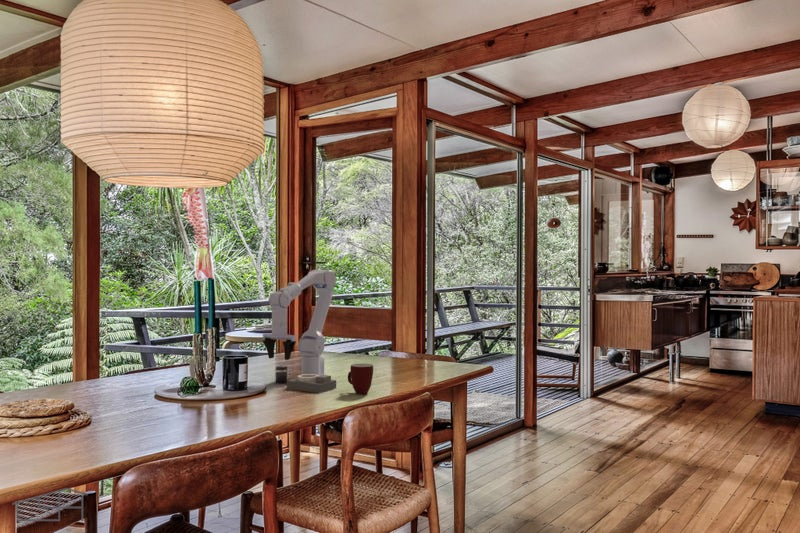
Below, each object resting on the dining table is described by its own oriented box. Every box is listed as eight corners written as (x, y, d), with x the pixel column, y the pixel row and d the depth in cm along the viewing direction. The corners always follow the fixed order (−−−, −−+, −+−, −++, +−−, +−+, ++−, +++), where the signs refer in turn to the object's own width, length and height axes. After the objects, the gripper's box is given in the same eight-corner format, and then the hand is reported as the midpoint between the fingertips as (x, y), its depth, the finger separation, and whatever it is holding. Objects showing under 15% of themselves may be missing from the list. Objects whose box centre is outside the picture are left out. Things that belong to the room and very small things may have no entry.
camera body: (303, 384, 238) (303, 371, 238) (336, 388, 232) (336, 374, 232) (286, 388, 230) (286, 375, 230) (320, 393, 223) (320, 378, 223)
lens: (280, 380, 245) (280, 365, 245) (289, 382, 243) (290, 366, 243) (272, 382, 241) (272, 366, 241) (282, 383, 239) (282, 367, 239)
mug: (340, 393, 223) (340, 364, 223) (353, 389, 230) (353, 362, 230) (364, 396, 217) (364, 367, 217) (377, 392, 224) (377, 364, 224)
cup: (197, 388, 227) (197, 361, 227) (184, 386, 232) (184, 359, 232) (216, 385, 234) (216, 358, 234) (203, 383, 239) (203, 356, 239)
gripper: (257, 323, 239) (257, 358, 240) (288, 325, 233) (288, 361, 233) (269, 321, 246) (269, 356, 246) (299, 323, 239) (299, 359, 239)
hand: (279, 358), depth 240 cm, fingers open, 7 cm apart
